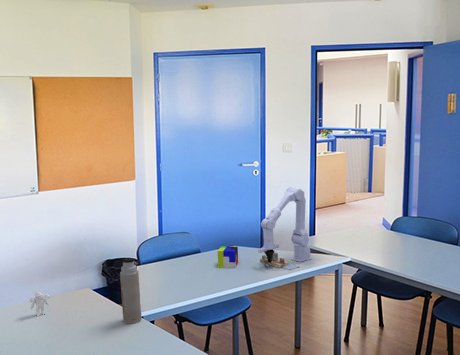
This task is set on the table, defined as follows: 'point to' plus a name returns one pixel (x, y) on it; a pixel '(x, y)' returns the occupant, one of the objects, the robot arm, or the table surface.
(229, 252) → the puzzle toy
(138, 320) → the thermos bottle
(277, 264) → the plane body
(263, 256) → the lever
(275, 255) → the lever cap
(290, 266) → the mat
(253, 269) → the table surface
